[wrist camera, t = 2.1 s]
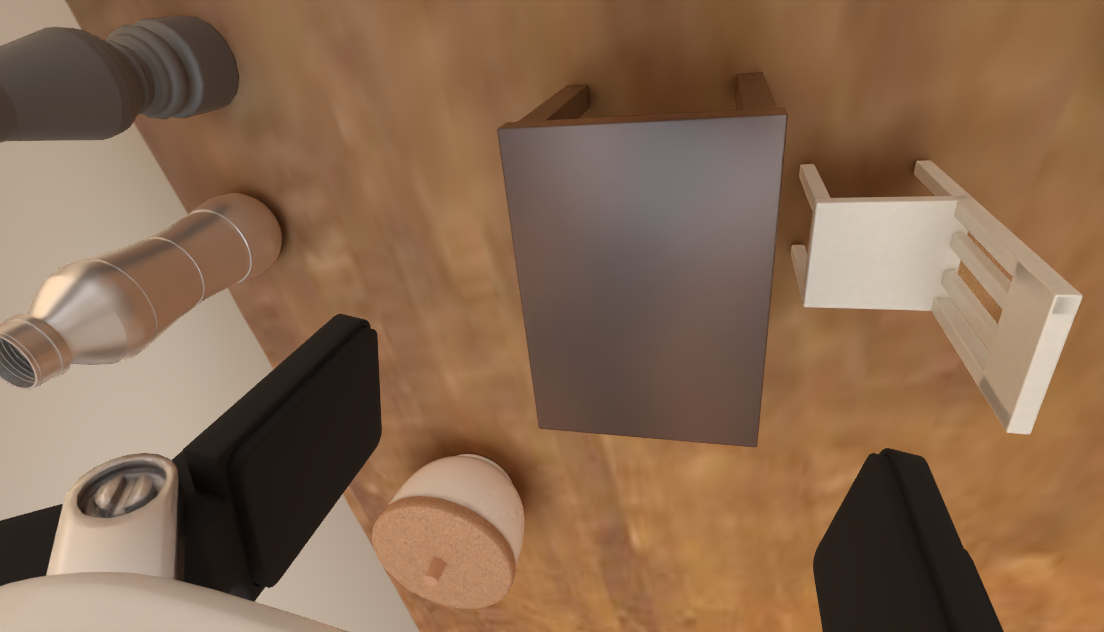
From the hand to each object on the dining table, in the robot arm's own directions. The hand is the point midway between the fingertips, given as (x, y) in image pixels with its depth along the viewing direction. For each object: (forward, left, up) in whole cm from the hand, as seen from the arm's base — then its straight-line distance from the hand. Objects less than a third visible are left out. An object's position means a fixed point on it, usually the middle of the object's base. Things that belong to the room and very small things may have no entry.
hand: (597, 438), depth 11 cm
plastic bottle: (+31, -14, -30) cm, 45 cm away
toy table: (+4, +4, -30) cm, 30 cm away
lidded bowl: (+34, +16, -30) cm, 48 cm away
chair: (-5, +11, -30) cm, 32 cm away
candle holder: (+24, -24, -30) cm, 45 cm away
